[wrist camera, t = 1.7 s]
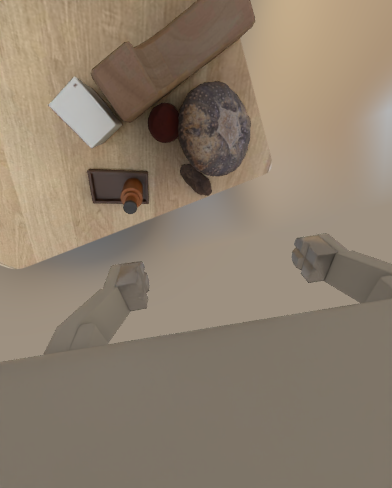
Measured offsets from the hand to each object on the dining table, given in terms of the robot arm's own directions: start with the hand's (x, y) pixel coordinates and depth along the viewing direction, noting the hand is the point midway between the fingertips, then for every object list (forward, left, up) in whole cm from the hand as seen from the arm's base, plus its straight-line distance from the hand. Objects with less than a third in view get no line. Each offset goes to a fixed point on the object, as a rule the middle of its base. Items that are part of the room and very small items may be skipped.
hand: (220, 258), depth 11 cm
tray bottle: (+4, -10, -46) cm, 47 cm away
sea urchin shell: (0, +11, -44) cm, 46 cm away
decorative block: (-12, -5, -39) cm, 41 cm away
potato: (-6, +4, -47) cm, 47 cm away
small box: (-12, -9, -47) cm, 49 cm away
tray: (+3, -12, -47) cm, 48 cm away
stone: (+8, +9, -46) cm, 47 cm away
